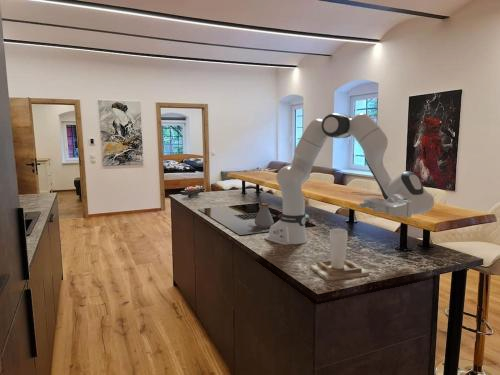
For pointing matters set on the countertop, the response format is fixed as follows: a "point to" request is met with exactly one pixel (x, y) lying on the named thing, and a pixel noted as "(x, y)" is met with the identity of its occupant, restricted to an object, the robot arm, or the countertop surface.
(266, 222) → the coffee pot
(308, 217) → the donut
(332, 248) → the drinking glass
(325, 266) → the holder board
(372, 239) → the countertop surface
